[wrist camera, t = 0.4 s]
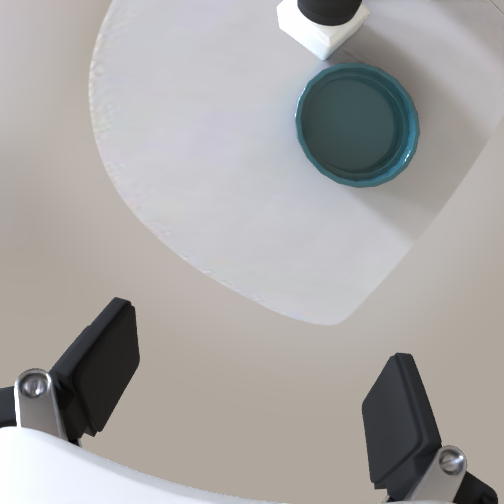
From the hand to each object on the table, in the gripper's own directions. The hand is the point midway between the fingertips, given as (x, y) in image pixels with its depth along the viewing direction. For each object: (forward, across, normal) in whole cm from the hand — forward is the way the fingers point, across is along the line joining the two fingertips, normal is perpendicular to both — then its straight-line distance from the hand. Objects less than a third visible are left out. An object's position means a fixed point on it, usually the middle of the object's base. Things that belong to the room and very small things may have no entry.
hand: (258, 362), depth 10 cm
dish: (+30, -7, -10) cm, 32 cm away
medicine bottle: (+30, -1, -22) cm, 37 cm away
